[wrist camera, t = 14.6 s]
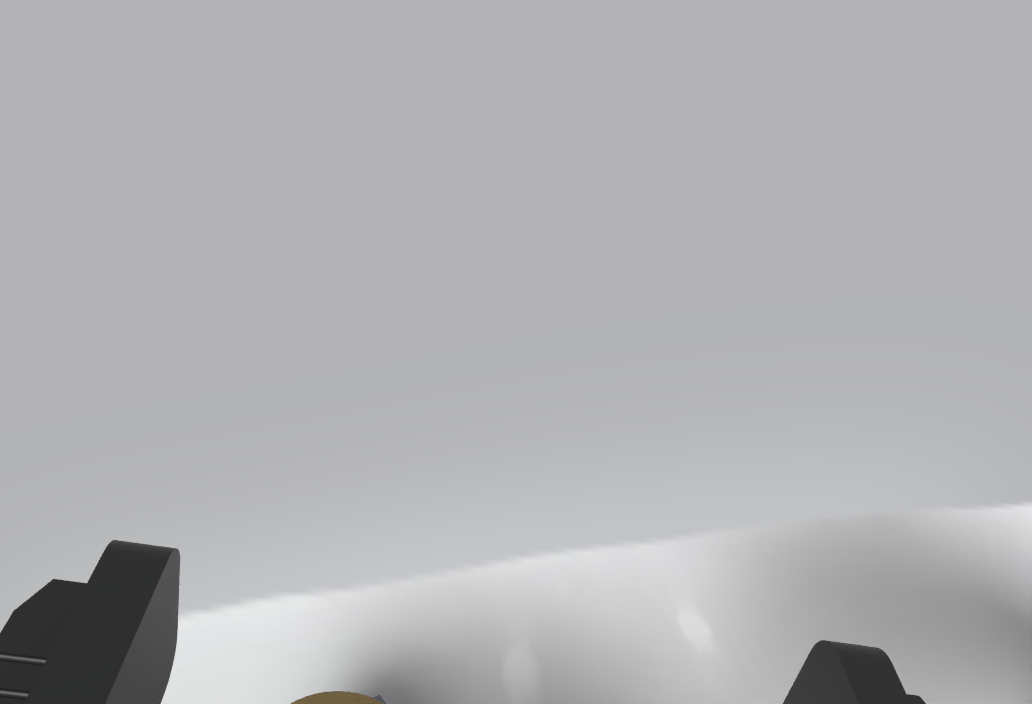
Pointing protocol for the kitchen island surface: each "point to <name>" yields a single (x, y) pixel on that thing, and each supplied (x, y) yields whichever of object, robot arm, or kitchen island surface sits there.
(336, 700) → the brass headed pin
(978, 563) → the kitchen island surface
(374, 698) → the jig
